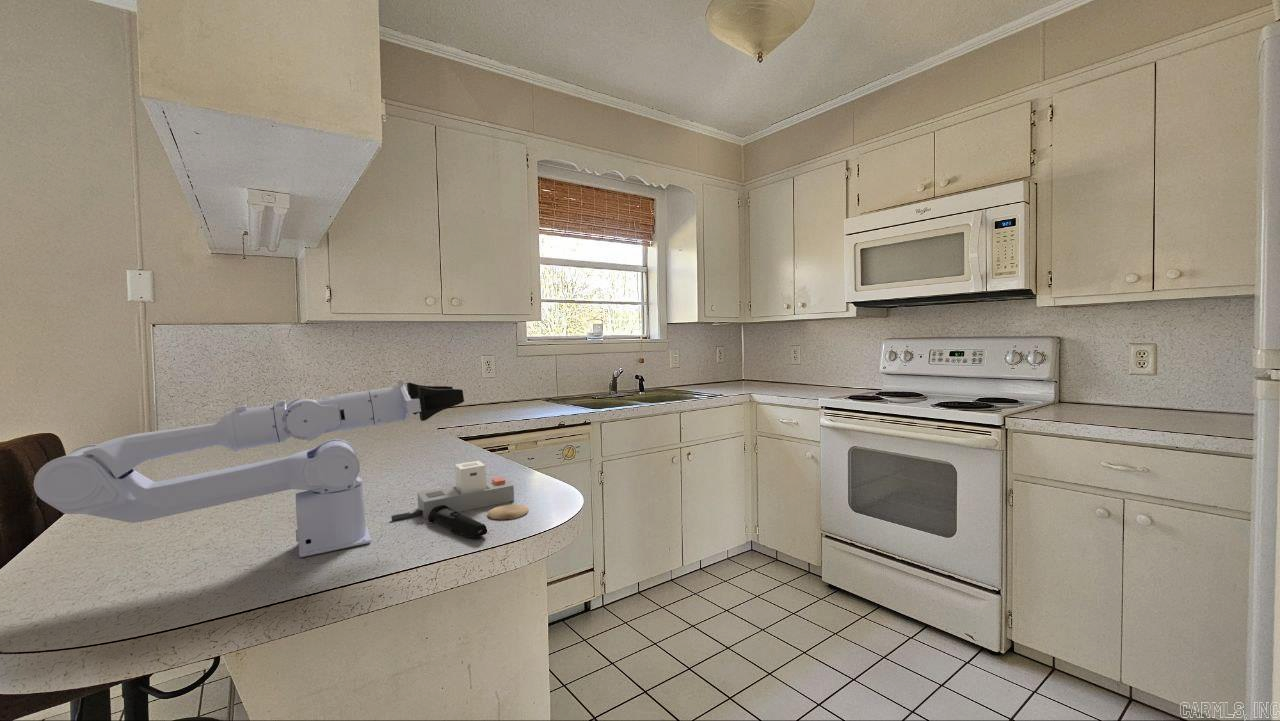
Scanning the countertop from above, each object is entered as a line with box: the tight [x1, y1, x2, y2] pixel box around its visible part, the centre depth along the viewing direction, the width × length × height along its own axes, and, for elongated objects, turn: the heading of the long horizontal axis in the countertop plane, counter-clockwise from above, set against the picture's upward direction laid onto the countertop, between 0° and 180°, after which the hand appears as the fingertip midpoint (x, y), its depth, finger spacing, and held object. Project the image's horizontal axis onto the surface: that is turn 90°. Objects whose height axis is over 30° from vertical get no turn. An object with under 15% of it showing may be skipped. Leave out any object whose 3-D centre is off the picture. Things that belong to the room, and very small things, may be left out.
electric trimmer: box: [427, 505, 488, 539], centre depth 89 cm, size 4×16×3 cm, turn 46°
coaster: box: [487, 503, 529, 521], centre depth 96 cm, size 7×7×1 cm
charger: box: [454, 460, 487, 494], centre depth 102 cm, size 4×5×6 cm
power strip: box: [390, 477, 515, 522], centre depth 101 cm, size 21×7×4 cm, turn 121°
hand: (457, 393), depth 94 cm, fingers open, 7 cm apart
